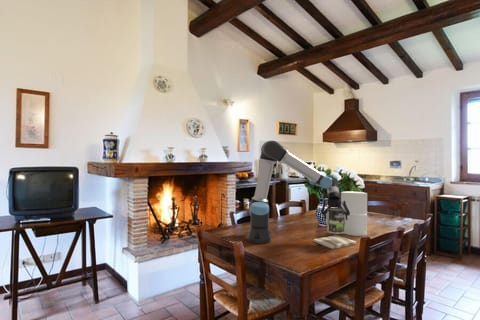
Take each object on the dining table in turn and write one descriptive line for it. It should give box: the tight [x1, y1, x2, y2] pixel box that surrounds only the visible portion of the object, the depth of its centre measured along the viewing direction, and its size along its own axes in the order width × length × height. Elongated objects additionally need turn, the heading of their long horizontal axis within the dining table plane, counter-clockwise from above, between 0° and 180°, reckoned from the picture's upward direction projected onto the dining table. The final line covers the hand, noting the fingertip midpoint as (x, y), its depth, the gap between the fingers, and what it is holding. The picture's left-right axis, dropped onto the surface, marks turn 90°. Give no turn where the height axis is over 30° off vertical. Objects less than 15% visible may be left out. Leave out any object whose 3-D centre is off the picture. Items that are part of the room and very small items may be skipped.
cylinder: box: [340, 190, 368, 237], centre depth 207 cm, size 17×17×28 cm
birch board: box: [313, 235, 357, 250], centre depth 182 cm, size 20×16×2 cm
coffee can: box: [326, 207, 345, 235], centre depth 182 cm, size 10×10×14 cm
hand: (336, 224), depth 179 cm, fingers closed on coffee can, 10 cm apart
